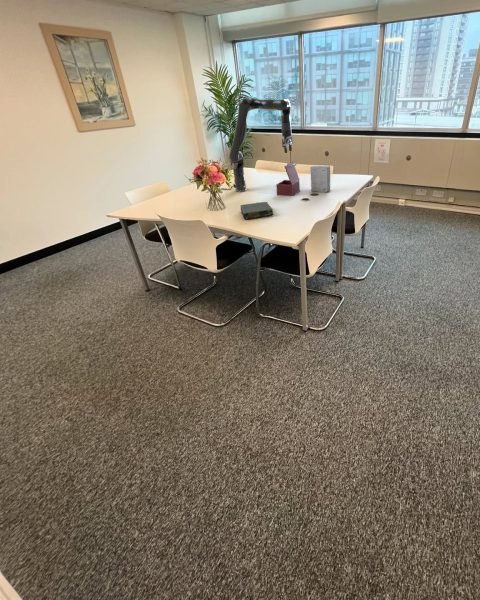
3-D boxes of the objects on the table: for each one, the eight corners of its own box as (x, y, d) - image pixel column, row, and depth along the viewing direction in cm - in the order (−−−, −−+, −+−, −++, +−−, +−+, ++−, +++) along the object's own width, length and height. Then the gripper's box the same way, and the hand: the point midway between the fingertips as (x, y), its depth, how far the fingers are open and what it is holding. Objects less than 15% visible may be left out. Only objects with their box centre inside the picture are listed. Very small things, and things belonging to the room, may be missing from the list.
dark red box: (277, 194, 272) (276, 184, 267) (285, 190, 284) (284, 179, 279) (292, 196, 267) (291, 185, 262) (299, 191, 278) (299, 180, 273)
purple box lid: (284, 166, 256) (289, 164, 253) (292, 162, 267) (297, 160, 264) (291, 185, 262) (296, 182, 259) (298, 180, 273) (304, 178, 270)
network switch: (245, 221, 221) (244, 214, 219) (237, 211, 239) (236, 205, 237) (276, 215, 229) (276, 208, 226) (266, 206, 247) (265, 200, 244)
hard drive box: (330, 190, 276) (330, 165, 265) (327, 192, 270) (327, 167, 259) (314, 188, 282) (313, 165, 270) (310, 191, 276) (310, 167, 265)
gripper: (286, 128, 253) (288, 150, 262) (278, 130, 243) (280, 153, 252) (294, 128, 251) (296, 150, 260) (286, 130, 240) (288, 153, 249)
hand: (288, 151), depth 256 cm, fingers open, 8 cm apart
